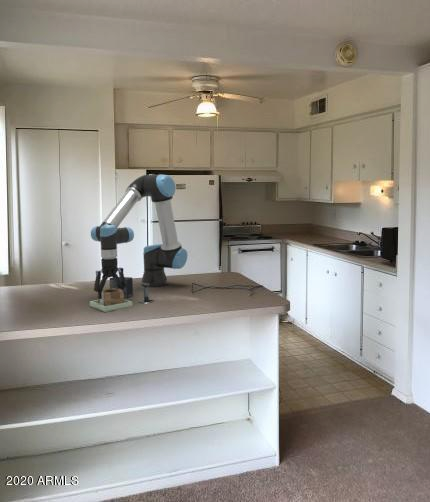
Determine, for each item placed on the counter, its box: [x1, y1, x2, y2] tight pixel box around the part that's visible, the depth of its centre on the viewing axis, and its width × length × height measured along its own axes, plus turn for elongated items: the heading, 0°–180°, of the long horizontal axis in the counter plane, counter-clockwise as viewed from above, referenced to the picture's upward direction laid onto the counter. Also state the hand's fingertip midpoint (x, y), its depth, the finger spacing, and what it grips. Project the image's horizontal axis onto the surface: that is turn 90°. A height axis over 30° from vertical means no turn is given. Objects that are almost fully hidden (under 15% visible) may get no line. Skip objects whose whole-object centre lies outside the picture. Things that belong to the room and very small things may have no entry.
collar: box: [97, 288, 125, 306], centre depth 248 cm, size 9×9×6 cm
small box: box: [108, 276, 134, 299], centre depth 268 cm, size 11×6×10 cm, turn 71°
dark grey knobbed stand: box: [138, 283, 155, 305], centre depth 255 cm, size 8×8×10 cm
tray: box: [89, 298, 134, 313], centre depth 249 cm, size 15×15×2 cm
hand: (111, 303), depth 249 cm, fingers closed on collar, 9 cm apart
